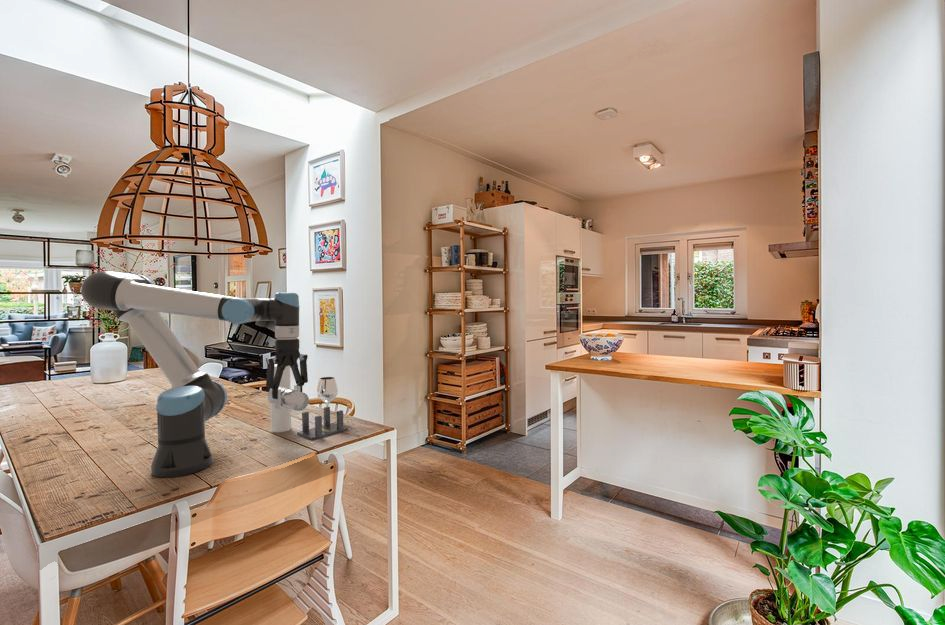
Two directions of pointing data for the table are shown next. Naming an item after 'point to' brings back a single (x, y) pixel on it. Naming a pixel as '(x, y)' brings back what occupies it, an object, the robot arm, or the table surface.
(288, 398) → the tube
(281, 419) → the cylindrical container
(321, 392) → the wineglass
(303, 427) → the rail
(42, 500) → the table surface
